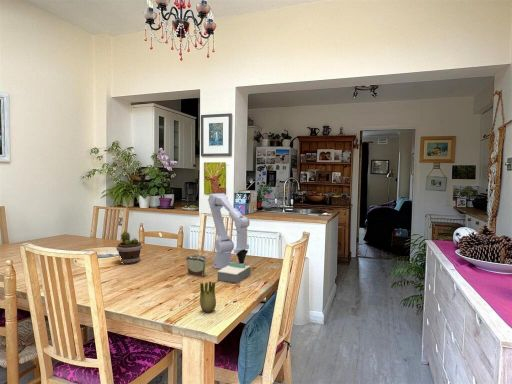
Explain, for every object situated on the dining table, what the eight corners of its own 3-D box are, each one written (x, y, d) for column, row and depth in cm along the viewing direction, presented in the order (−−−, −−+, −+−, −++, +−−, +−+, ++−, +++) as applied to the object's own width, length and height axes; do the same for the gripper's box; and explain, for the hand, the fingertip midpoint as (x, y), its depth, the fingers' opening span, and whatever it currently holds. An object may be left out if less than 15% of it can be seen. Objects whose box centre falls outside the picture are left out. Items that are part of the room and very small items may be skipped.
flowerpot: (147, 261, 200) (147, 229, 199) (126, 267, 187) (125, 233, 186) (132, 257, 207) (132, 227, 206) (110, 263, 195) (110, 230, 193)
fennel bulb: (198, 311, 128) (198, 282, 127) (204, 307, 133) (205, 278, 132) (211, 314, 126) (211, 284, 125) (217, 309, 131) (217, 280, 130)
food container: (211, 274, 176) (211, 256, 175) (204, 277, 170) (204, 259, 169) (192, 271, 181) (192, 253, 180) (185, 274, 175) (185, 256, 175)
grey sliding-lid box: (217, 280, 166) (217, 272, 166) (232, 272, 180) (232, 264, 180) (236, 283, 161) (236, 275, 161) (250, 275, 176) (250, 267, 176)
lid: (217, 272, 166) (217, 267, 165) (232, 264, 180) (232, 259, 180) (236, 275, 161) (236, 270, 161) (250, 266, 176) (250, 262, 175)
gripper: (242, 242, 169) (242, 267, 170) (253, 237, 182) (253, 261, 183) (230, 240, 172) (230, 266, 173) (242, 236, 185) (242, 259, 186)
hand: (241, 263), depth 178 cm, fingers closed
